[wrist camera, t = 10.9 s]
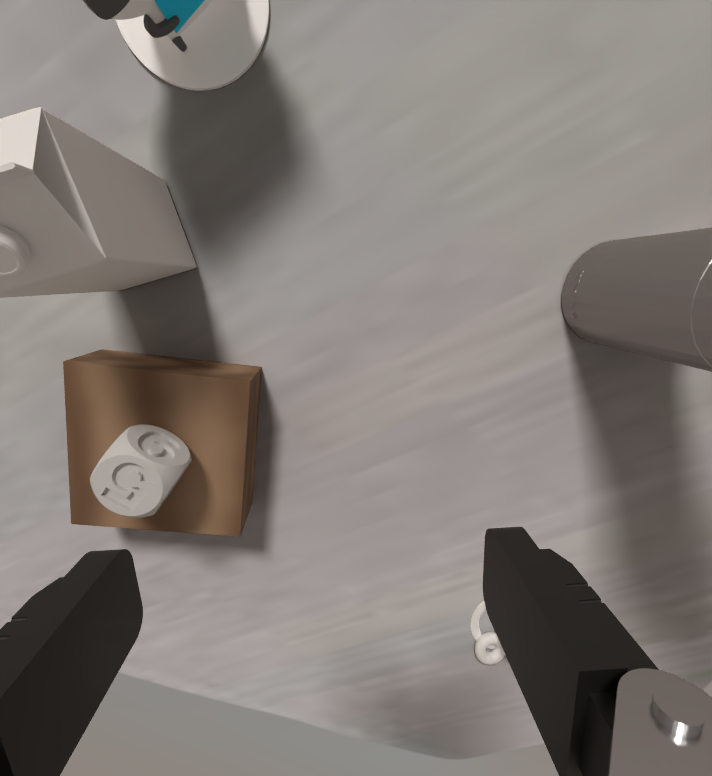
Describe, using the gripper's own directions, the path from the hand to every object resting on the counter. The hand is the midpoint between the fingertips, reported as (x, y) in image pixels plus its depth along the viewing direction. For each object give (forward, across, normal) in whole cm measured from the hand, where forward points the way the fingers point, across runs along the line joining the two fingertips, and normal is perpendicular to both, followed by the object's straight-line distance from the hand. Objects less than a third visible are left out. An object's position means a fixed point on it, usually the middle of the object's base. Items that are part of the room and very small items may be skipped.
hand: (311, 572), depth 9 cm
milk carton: (+29, +15, -10) cm, 35 cm away
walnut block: (+30, +15, +7) cm, 34 cm away
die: (+24, +15, +7) cm, 29 cm away
